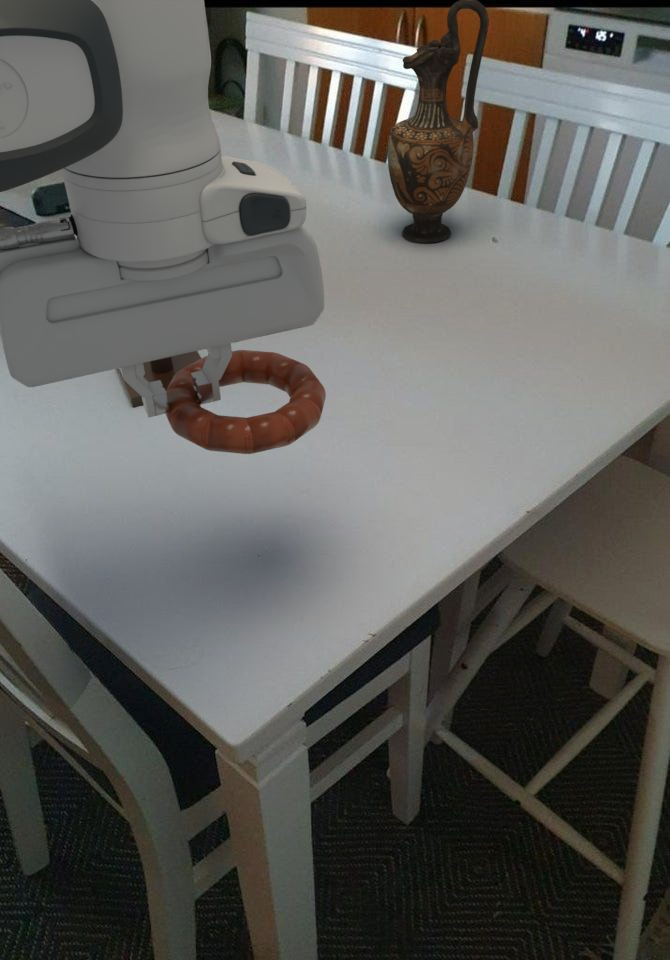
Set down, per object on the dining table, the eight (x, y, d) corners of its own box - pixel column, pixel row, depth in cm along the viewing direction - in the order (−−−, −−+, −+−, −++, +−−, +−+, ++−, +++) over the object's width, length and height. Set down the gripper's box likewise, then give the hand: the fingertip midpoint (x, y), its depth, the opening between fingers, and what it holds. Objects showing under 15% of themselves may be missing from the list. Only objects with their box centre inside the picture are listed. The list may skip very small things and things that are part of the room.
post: (132, 407, 86) (106, 293, 77) (115, 367, 92) (89, 257, 84) (214, 387, 88) (197, 274, 80) (192, 349, 95) (174, 241, 86)
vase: (396, 216, 124) (400, -11, 104) (477, 222, 121) (496, -10, 102) (378, 247, 115) (378, 6, 96) (465, 255, 112) (483, 8, 93)
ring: (188, 475, 52) (185, 445, 51) (150, 389, 60) (146, 360, 59) (348, 439, 56) (349, 409, 54) (292, 361, 64) (291, 334, 62)
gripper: (-37, 257, 41) (32, 469, 50) (331, 193, 47) (336, 393, 56) (-44, 215, 46) (20, 417, 55) (293, 162, 52) (303, 351, 61)
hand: (183, 404), depth 55 cm, fingers closed on ring, 2 cm apart
